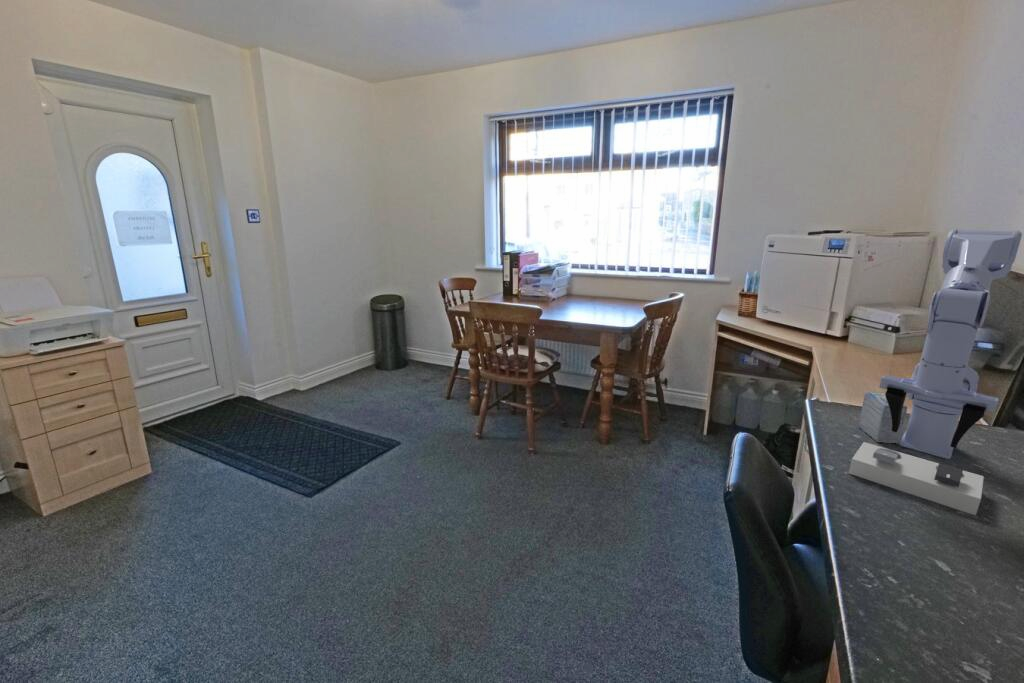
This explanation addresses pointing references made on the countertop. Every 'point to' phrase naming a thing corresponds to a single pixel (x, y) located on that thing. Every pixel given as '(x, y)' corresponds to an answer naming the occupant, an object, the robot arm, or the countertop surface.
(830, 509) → the countertop surface
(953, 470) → the block
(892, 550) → the countertop surface
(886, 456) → the block
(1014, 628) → the countertop surface
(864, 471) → the switch panel
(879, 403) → the medicine box
